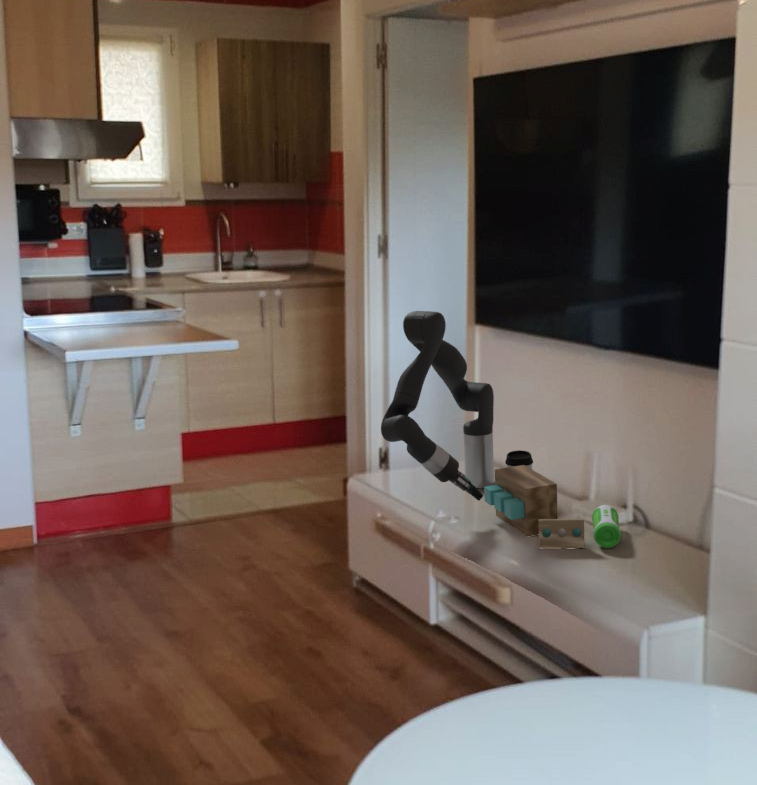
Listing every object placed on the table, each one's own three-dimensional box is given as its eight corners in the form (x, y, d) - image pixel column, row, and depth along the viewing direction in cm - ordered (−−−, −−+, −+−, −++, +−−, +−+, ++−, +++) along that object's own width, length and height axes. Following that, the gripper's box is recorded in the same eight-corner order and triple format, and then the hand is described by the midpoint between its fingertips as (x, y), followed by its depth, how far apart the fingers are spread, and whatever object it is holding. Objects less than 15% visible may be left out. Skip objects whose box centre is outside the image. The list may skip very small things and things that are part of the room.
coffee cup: (533, 496, 358) (532, 449, 355) (534, 505, 350) (533, 457, 346) (506, 497, 359) (504, 450, 356) (506, 506, 351) (505, 458, 347)
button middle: (500, 512, 329) (500, 497, 328) (494, 508, 333) (493, 493, 332) (520, 509, 331) (519, 494, 330) (513, 504, 335) (513, 490, 334)
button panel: (526, 537, 324) (525, 488, 321) (496, 515, 343) (494, 469, 340) (557, 531, 326) (556, 483, 323) (525, 510, 346) (524, 465, 343)
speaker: (621, 550, 310) (621, 523, 309) (593, 550, 311) (593, 523, 310) (618, 528, 327) (618, 502, 326) (592, 528, 328) (591, 502, 327)
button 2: (511, 519, 322) (510, 504, 321) (504, 515, 327) (504, 500, 326) (530, 516, 324) (530, 501, 323) (524, 511, 328) (523, 497, 327)
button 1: (490, 505, 335) (490, 490, 334) (484, 501, 340) (484, 486, 339) (509, 502, 337) (509, 487, 336) (503, 498, 341) (503, 483, 340)
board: (539, 542, 319) (538, 515, 317) (583, 542, 317) (583, 514, 315) (539, 549, 314) (538, 521, 312) (584, 548, 312) (584, 520, 311)
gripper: (455, 458, 324) (497, 493, 331) (438, 446, 337) (479, 481, 343) (438, 479, 324) (481, 514, 330) (422, 467, 336) (463, 501, 342)
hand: (480, 497), depth 336 cm, fingers closed
